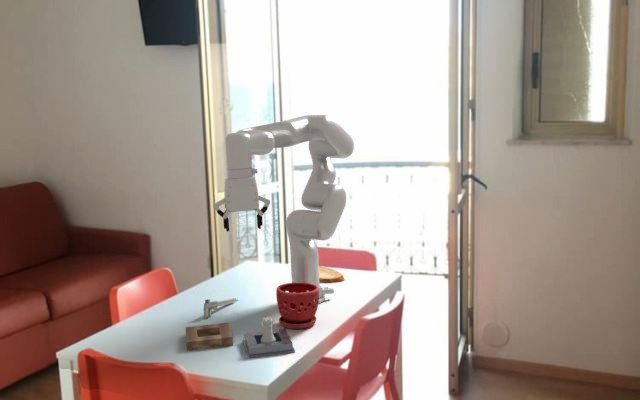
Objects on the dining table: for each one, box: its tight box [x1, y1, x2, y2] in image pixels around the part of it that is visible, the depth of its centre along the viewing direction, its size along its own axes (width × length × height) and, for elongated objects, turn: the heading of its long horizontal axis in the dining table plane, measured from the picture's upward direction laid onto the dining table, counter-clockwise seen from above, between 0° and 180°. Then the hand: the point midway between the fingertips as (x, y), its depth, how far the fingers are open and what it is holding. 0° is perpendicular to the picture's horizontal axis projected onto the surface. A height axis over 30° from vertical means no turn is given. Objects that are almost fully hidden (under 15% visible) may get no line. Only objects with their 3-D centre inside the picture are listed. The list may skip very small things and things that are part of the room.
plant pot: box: [275, 282, 319, 330], centre depth 210 cm, size 13×13×12 cm
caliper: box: [203, 297, 239, 319], centre depth 228 cm, size 20×1×6 cm, turn 157°
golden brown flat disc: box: [319, 265, 346, 284], centre depth 264 cm, size 18×18×4 cm
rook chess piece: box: [260, 316, 276, 344], centre depth 192 cm, size 4×4×8 cm
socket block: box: [184, 322, 234, 351], centre depth 200 cm, size 13×13×2 cm
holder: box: [242, 328, 296, 359], centre depth 193 cm, size 13×13×2 cm
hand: (243, 229), depth 208 cm, fingers open, 9 cm apart
